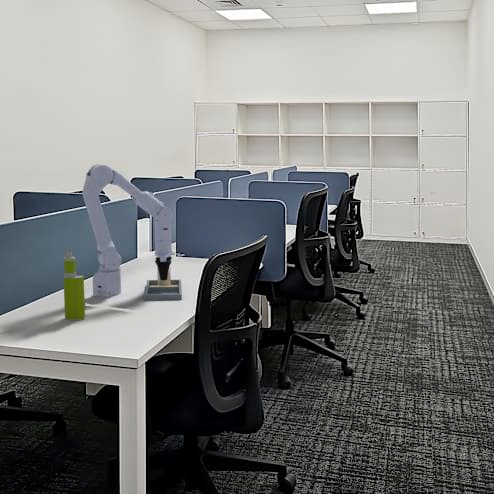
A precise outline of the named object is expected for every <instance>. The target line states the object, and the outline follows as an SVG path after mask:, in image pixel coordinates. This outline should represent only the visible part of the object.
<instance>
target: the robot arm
mask: <svg viewBox="0 0 494 494" xmlns="http://www.w3.org/2000/svg"><path fill="white" fill-rule="evenodd" d="M109 184H110V185H113V186H118V187H119V188H120V189H122V190H123V191H124V192H126V193H127V194H128V195H130V196H132V198H134V199H135V204H136V205H137V206H138V207H139V208H140V209H142V210H144V211H145V212H146V213H147V214H148V215H150V216H152V218H153V220H154V256H156V257H155V259H154V260H155V261H154V262H155V263H154V264H156V267H157V268H158V270H159V275H160V279H161V280H167V277H168V270H169V267H171V264H172V261H173V260H172V256H175V255H176V252H175V251H173V250H172V249H173V248H172V246H173V245H172V241H173V240H172V221H173V219H174V216H175V214H174V213H173V211H172V208H170V207H168V206H165V203H164V202H163V201H162V200H161V201H160V200H159V199H158V198H157V197H155V196H154V195H155V194H154V193H153V192H151V191H142V190H140V189H139V188H138V187H136V186H135V185H134V184H133V183H132V182H130V181H129V180H128V179H127V178H126V177H125V176H124V175H122V174H121V173H119V172H118V171H116V170H115V169H113V168H111V167H110V166H109V165H105V164H99V163H98V164H94V165H92V166H91V167H90V168H89V170H88V171H87V172H86V175H85V181H84V183H83V188H82V197H83V202H84V204H85V208H86V211H87V214H88V217H89V220H90V224H91V227H92V231H93V233H94V237H95V241H96V248H97V261H98V263H99V264H100V265H99V267H98V271H97V272H96V273H94V275H93V276H92V294H91V295H90V296H91V297H95V296H96V297H102V298H103V297H104V298H109V297H111V296H117V295H121V293H122V277H121V276H122V274H121V273H122V271H121V267H120V266H121V265H122V260H123V259H122V256H121V255H120V254H119V253H118V251H117V249H116V246H115V245H114V242H113V240H112V237H111V232H110V231H109V227H108V224H107V220H106V217H105V213H104V210H103V207H102V204H101V200H100V197H99V196H100V194H101V192H102V191H103V190H104V188H105V187H107V186H108V185H109Z"/></svg>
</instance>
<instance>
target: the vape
mask: <svg viewBox="0 0 494 494" xmlns="http://www.w3.org/2000/svg"><path fill="white" fill-rule="evenodd" d="M63 269H64V270H63V274H64V275H63V280H62V281H63V299H64V302H63V303H64V319H65V320H71V321H72V320H73V321H80V320H85V319H86V305H85V280H84V279H85V277H84V275H83V274H82V275H81V274H80V275H79V274H77V272H76V257H75V256H73V252H72V250H67V251H66V256H64V257H63Z"/></svg>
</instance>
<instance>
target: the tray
mask: <svg viewBox="0 0 494 494" xmlns="http://www.w3.org/2000/svg"><path fill="white" fill-rule="evenodd" d="M173 300H176V301H178V300H179V301H181V300H183V291H182V279H171V285H169V286H159V285H158V279H147V281H146V286H145V292H144V301H173Z"/></svg>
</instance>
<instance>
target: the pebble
mask: <svg viewBox="0 0 494 494" xmlns="http://www.w3.org/2000/svg"><path fill="white" fill-rule="evenodd" d="M156 269H157V274H156V275H157V280H158V285H159V286H169V285H171V280H172V275H171V274H172V273H171V271H172V268H171V266H170V267H169V270H168V277H167V280H161V279H160V275H159V270H158V267H157V268H156Z"/></svg>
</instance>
